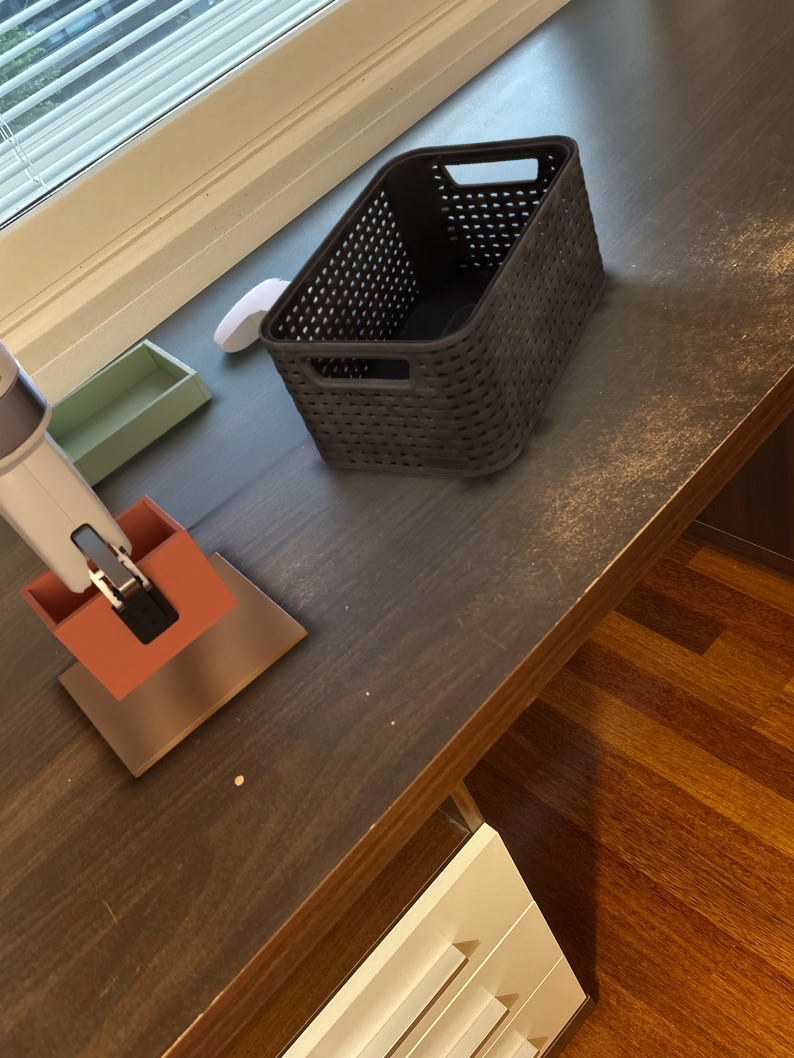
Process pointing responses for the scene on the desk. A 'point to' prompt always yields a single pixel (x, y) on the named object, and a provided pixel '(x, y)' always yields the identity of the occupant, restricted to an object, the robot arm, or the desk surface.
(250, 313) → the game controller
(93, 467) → the green bin
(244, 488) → the desk surface
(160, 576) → the coral bin
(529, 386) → the storage bin
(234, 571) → the metal plate
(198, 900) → the desk surface
